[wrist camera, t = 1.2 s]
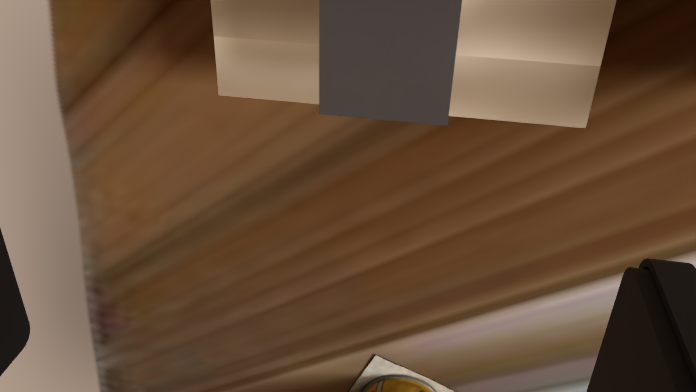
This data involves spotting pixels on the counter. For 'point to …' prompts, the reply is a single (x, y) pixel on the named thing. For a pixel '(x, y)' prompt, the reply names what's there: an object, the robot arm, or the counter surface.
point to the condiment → (393, 379)
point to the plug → (388, 58)
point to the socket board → (470, 62)
